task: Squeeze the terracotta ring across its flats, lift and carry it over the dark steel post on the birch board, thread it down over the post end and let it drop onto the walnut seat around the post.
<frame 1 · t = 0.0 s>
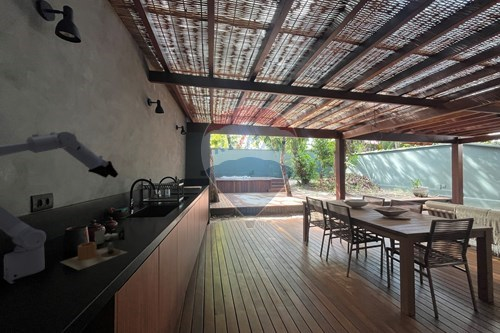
hand: (111, 175, 99), 32 cm above the worktop, tool tilted 50°, fingers open, 7 cm apart
valve: (109, 243, 104), on the worktop
post board: (95, 259, 85), on the worktop
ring: (87, 257, 85), point 1 cm above the worktop, touching post board
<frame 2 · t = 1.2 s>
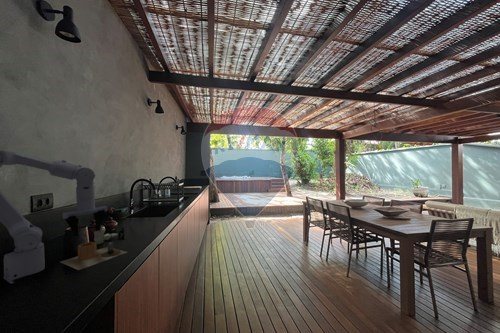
hand: (87, 232, 85), 10 cm above the worktop, tool pointing down, fingers open, 7 cm apart
nothing on the worktop moved.
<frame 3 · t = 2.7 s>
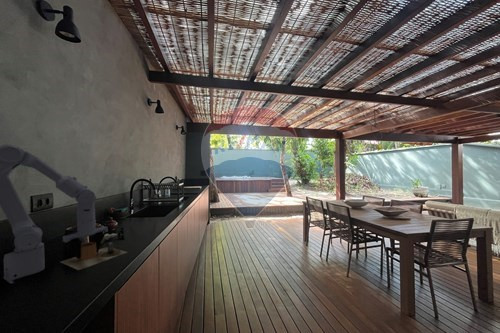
hand: (87, 254, 85), 2 cm above the worktop, tool pointing down, fingers closed on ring, 5 cm apart
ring: (87, 257, 85), point 1 cm above the worktop, touching gripper, post board
everything else where it was.
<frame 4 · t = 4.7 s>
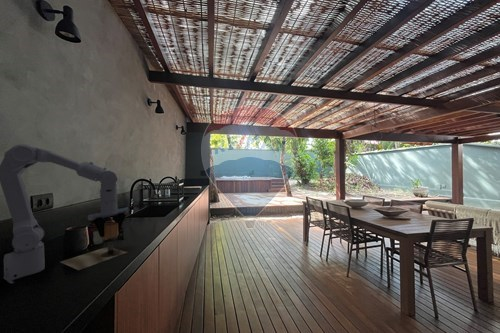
hand: (110, 234, 88), 9 cm above the worktop, tool pointing down, fingers closed on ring, 5 cm apart
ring: (110, 236, 88), point 8 cm above the worktop, touching gripper
everything else where it was.
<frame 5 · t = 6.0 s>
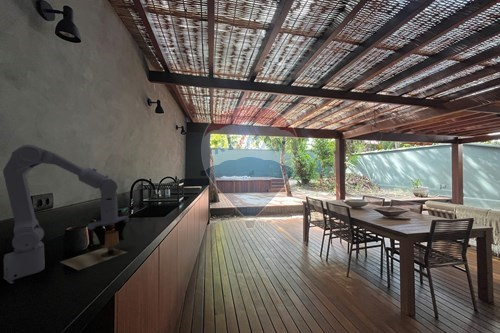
hand: (110, 242, 88), 6 cm above the worktop, tool pointing down, fingers closed on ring, 5 cm apart
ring: (110, 244, 88), point 5 cm above the worktop, touching gripper
everything else where it was.
when the fingers open (3 cm above the worktop, at t = 7.0 s): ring drops 1 cm, resting on post board.
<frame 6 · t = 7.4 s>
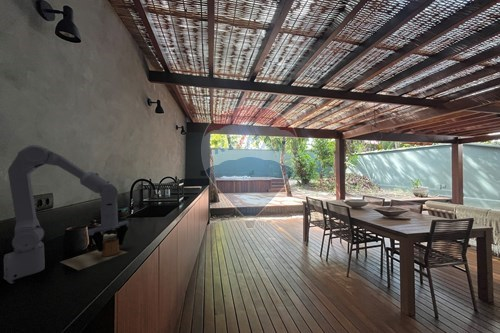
hand: (110, 247, 88), 3 cm above the worktop, tool pointing down, fingers open, 7 cm apart
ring: (110, 253, 88), point 1 cm above the worktop, touching post board
everything else where it was.
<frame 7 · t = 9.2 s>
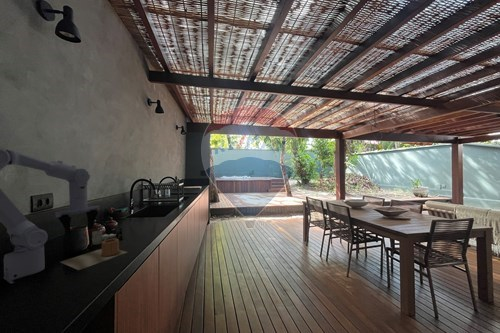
hand: (79, 231, 89), 10 cm above the worktop, tool pointing down, fingers open, 7 cm apart
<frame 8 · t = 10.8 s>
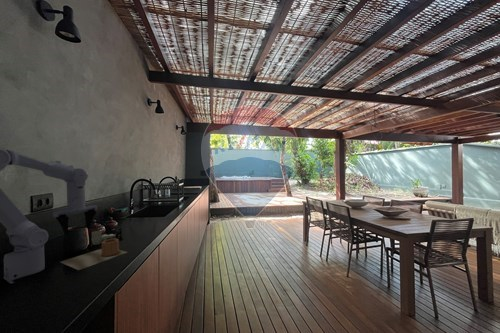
hand: (77, 230, 89), 10 cm above the worktop, tool pointing down, fingers open, 7 cm apart
at the end: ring 0.0 cm from the target spot, point 1.2 cm above the worktop; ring tilted 0°; the gripper is holding nothing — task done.
